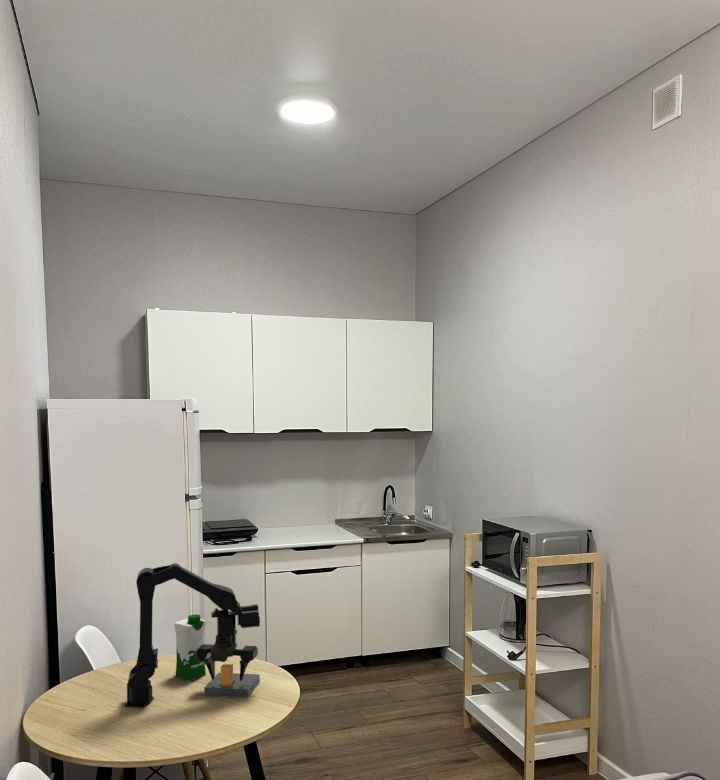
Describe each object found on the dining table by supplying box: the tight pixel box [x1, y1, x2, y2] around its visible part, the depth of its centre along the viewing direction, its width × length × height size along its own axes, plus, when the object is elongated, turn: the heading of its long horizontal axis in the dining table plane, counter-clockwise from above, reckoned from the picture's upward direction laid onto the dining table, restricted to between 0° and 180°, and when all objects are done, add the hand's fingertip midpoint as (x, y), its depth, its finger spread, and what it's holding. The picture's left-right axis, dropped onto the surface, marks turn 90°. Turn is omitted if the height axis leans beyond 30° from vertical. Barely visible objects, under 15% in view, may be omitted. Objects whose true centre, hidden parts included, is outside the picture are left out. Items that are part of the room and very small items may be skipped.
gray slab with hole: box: [203, 672, 261, 699], centre depth 212 cm, size 14×12×2 cm
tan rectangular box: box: [220, 663, 234, 686], centre depth 210 cm, size 3×3×8 cm
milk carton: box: [173, 614, 207, 682], centre depth 224 cm, size 9×9×20 cm
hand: (227, 679), depth 210 cm, fingers open, 9 cm apart
